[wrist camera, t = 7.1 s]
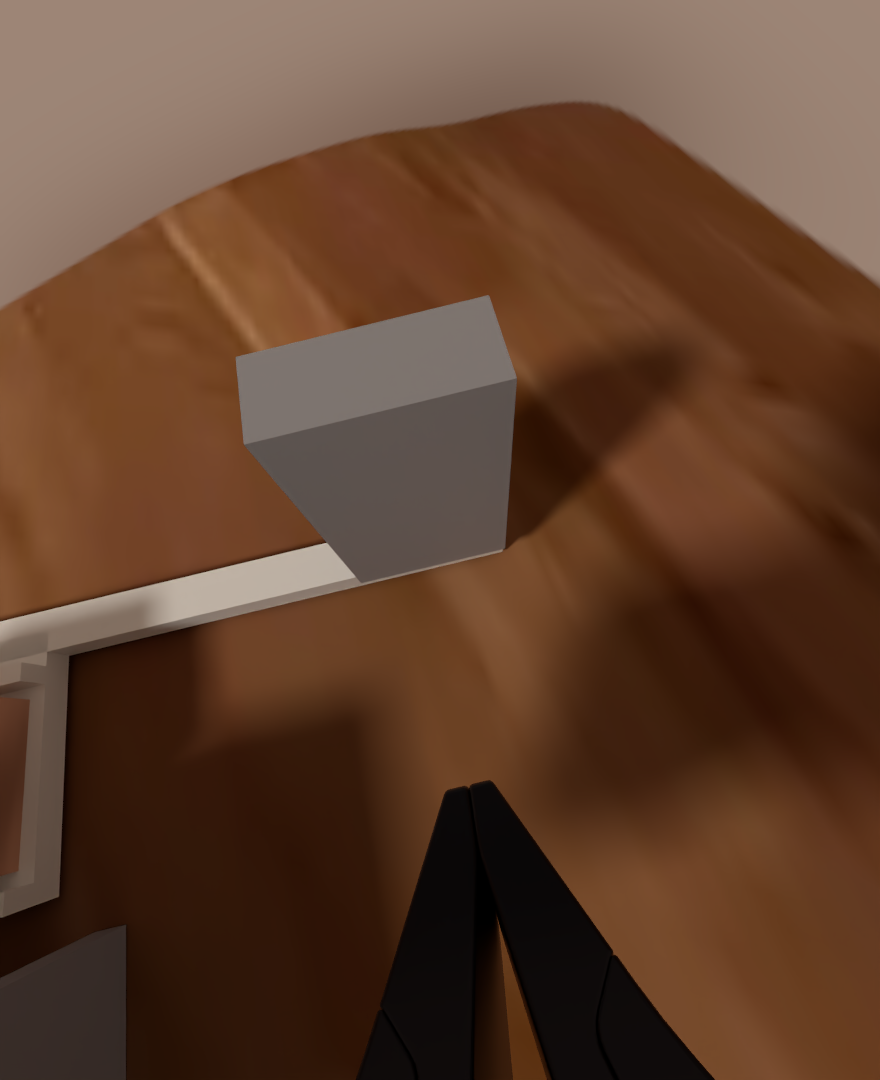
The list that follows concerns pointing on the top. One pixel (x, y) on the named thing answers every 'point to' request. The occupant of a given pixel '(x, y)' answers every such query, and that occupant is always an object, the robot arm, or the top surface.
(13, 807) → the block
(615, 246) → the top surface
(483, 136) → the top surface
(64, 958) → the tunnel
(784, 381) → the top surface
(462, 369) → the grey white bent piece
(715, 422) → the top surface
